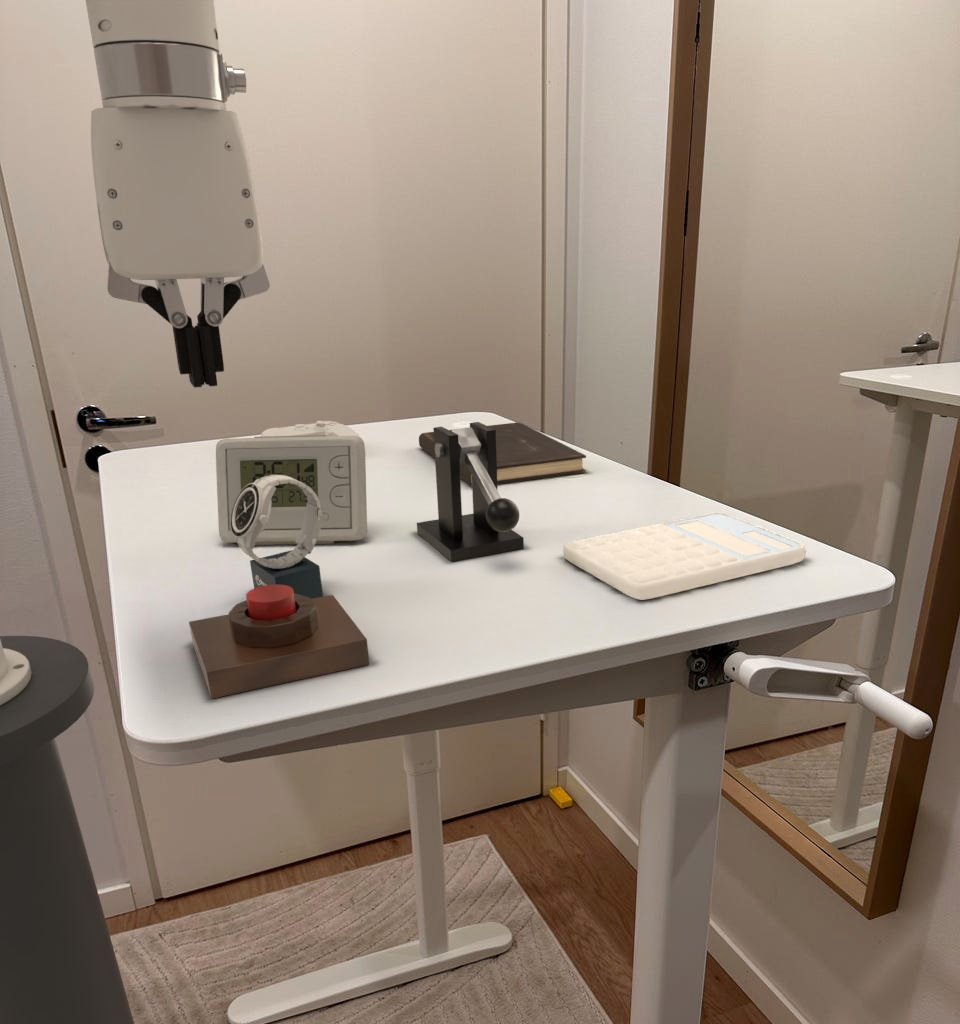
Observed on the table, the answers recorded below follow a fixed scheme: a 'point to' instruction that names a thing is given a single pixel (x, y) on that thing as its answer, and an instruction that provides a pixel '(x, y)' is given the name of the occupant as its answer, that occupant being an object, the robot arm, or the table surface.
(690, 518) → the calculator
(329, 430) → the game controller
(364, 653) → the button block
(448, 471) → the bracket
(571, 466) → the hardcover book
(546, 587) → the table surface
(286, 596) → the button
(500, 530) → the lever
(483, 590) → the table surface
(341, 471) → the digital clock
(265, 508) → the watch
